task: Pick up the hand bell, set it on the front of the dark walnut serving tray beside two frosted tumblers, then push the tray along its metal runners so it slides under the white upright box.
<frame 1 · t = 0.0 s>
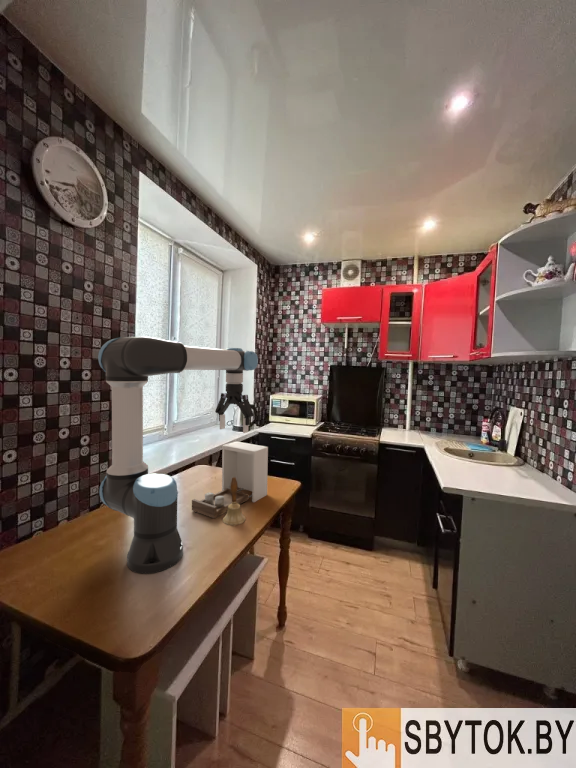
hand: (233, 430, 139), 28 cm above the table, fingers open, 13 cm apart
hand bell: (234, 520, 116), on the table
white upright box: (244, 493, 140), on the table
tray: (221, 498, 127), point 3 cm above the table, slide at 0.0 cm
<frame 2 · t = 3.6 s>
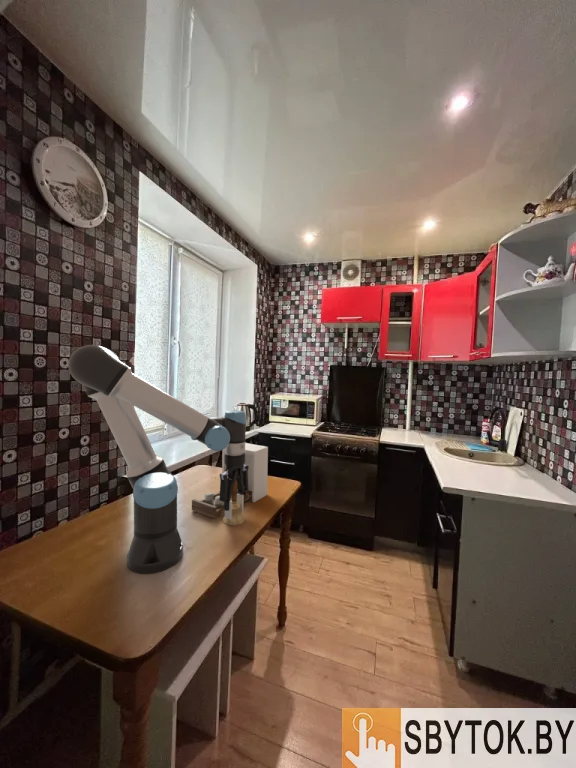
hand: (234, 514, 115), 2 cm above the table, fingers closed on hand bell, 6 cm apart
hand bell: (234, 520, 116), on the table, touching gripper
everything else where it was.
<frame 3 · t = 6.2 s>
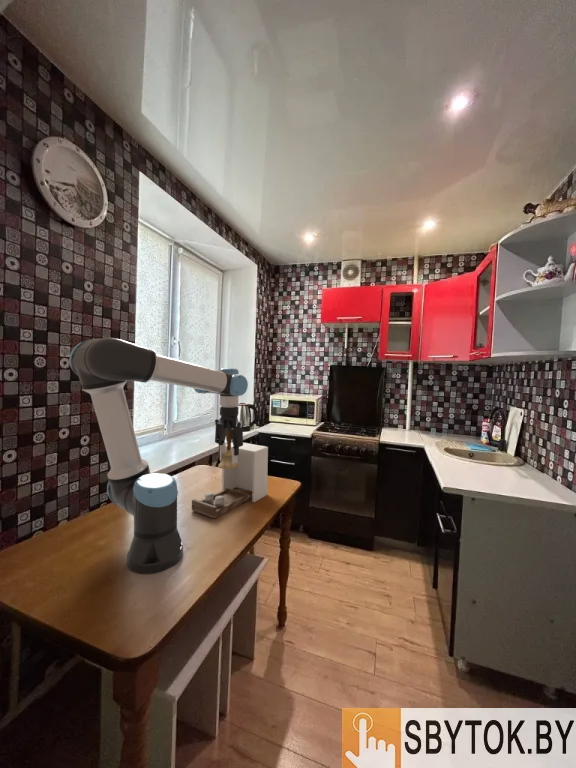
hand: (228, 461, 129), 17 cm above the table, fingers closed on hand bell, 6 cm apart
hand bell: (228, 466, 130), point 15 cm above the table, touching gripper
everything else where it was.
when the fingers open (5 cm above the table, at t = 8.7 s): hand bell drops 1 cm, resting on tray.
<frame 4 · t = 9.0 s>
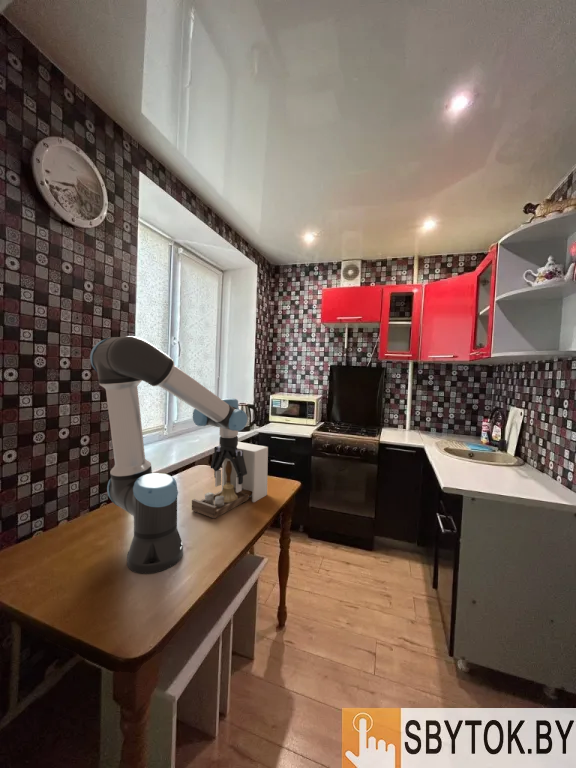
hand: (228, 488, 130), 6 cm above the table, fingers open, 10 cm apart
hand bell: (228, 499, 130), point 1 cm above the table, touching tray
tray: (221, 498, 127), point 3 cm above the table, slide at 0.0 cm, touching hand bell
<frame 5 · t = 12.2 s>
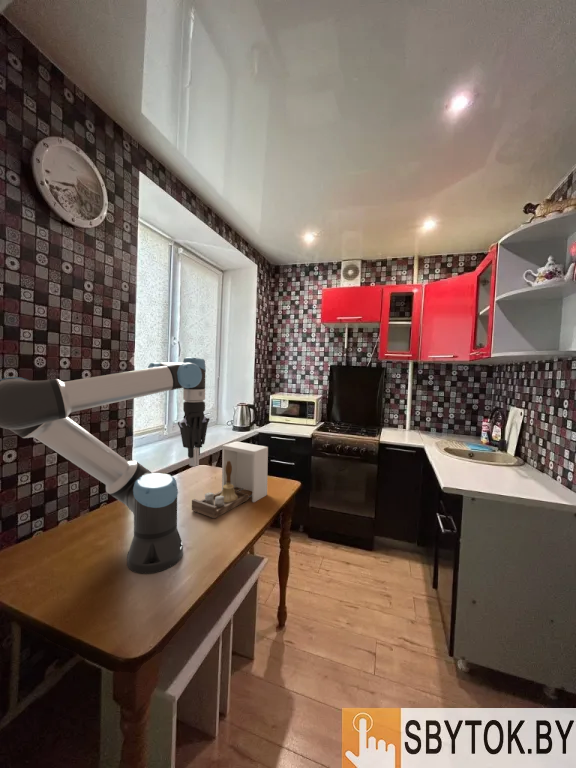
hand: (193, 465, 113), 20 cm above the table, fingers closed
nothing on the table moved.
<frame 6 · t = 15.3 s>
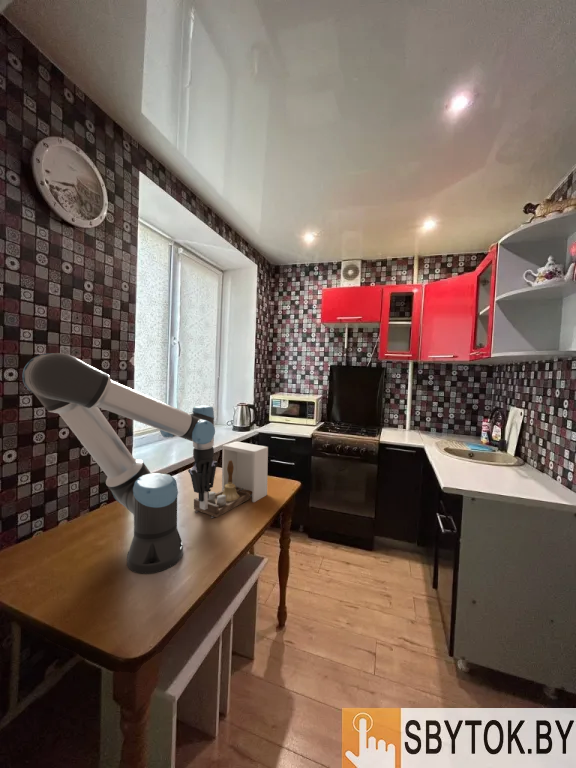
hand: (203, 508, 118), 3 cm above the table, fingers closed
hand bell: (229, 498, 131), point 1 cm above the table, touching tray
tray: (223, 497, 128), point 3 cm above the table, slide at 1.1 cm, touching gripper, hand bell
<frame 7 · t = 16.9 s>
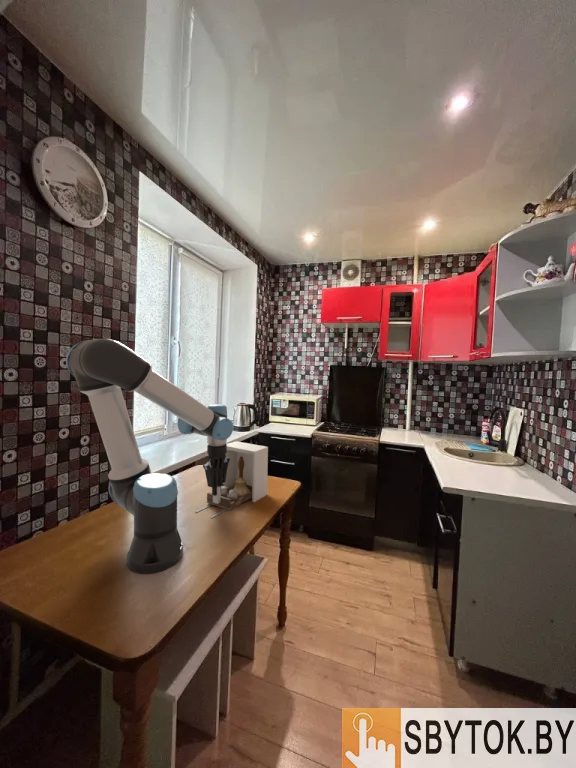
hand: (216, 502, 124), 2 cm above the table, fingers closed
hand bell: (240, 492, 137), point 1 cm above the table, touching tray
tray: (234, 492, 134), point 3 cm above the table, slide at 8.0 cm, touching gripper, hand bell
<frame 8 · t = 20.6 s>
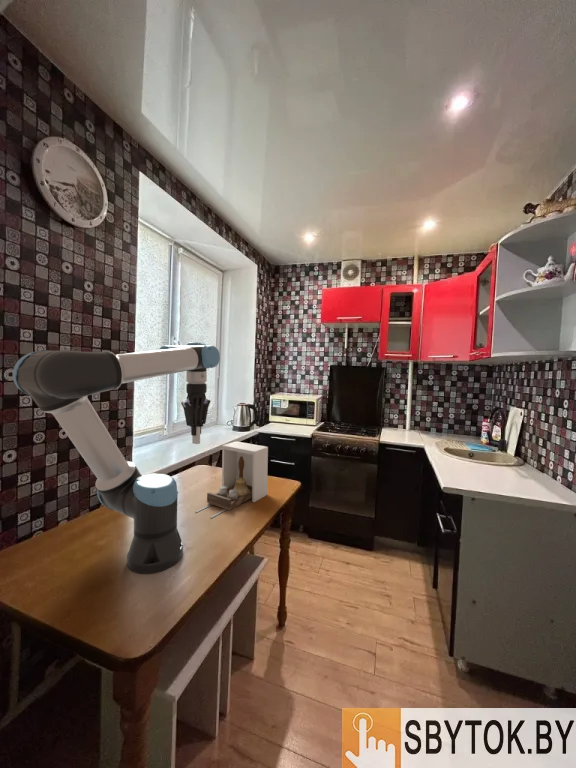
hand: (196, 443, 122), 26 cm above the table, fingers closed
tray: (234, 492, 134), point 3 cm above the table, slide at 8.1 cm, touching hand bell
everything else where it was.
at the end: tray slide at 8.1 cm; hand bell 2.7 cm from the white upright box (horizontally); hand bell tilted 0° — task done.
